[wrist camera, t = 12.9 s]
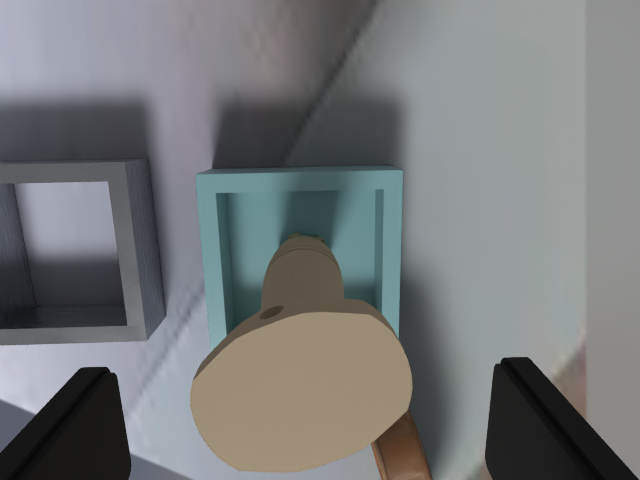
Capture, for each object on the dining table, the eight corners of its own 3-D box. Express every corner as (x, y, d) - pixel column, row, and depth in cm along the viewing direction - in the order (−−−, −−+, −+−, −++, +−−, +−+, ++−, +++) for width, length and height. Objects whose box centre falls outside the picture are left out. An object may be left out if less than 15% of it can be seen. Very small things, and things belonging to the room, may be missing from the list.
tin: (343, 350, 30) (357, 431, 22) (387, 338, 30) (417, 415, 21) (393, 520, 33) (421, 645, 25) (433, 510, 33) (474, 632, 25)
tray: (211, 168, 27) (195, 174, 23) (389, 164, 27) (402, 170, 23) (224, 333, 29) (211, 363, 25) (386, 328, 29) (398, 357, 25)
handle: (364, 270, 27) (432, 425, 13) (271, 306, 28) (234, 496, 13) (337, 200, 26) (378, 282, 12) (240, 238, 27) (162, 364, 12)
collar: (-9, 161, 26) (-56, 165, 23) (148, 158, 26) (124, 161, 23) (23, 320, 29) (-16, 345, 25) (165, 316, 29) (146, 340, 25)
